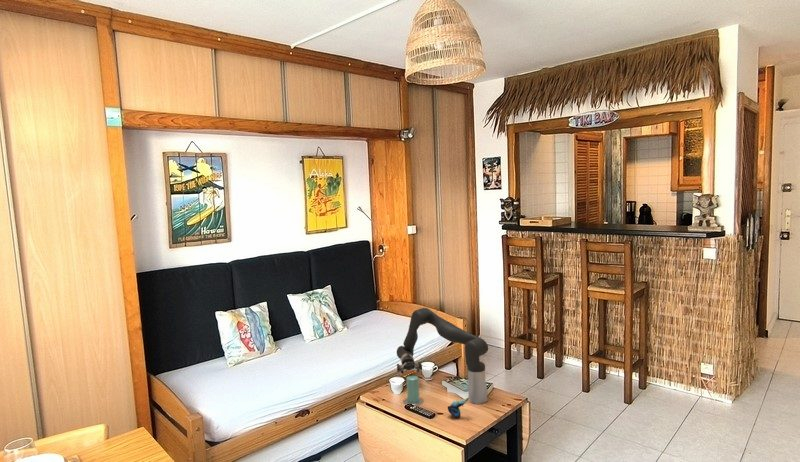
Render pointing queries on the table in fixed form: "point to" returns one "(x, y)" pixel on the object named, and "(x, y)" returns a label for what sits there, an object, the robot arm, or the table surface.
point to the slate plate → (414, 404)
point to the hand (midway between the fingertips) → (410, 371)
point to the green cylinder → (412, 389)
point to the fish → (456, 407)
